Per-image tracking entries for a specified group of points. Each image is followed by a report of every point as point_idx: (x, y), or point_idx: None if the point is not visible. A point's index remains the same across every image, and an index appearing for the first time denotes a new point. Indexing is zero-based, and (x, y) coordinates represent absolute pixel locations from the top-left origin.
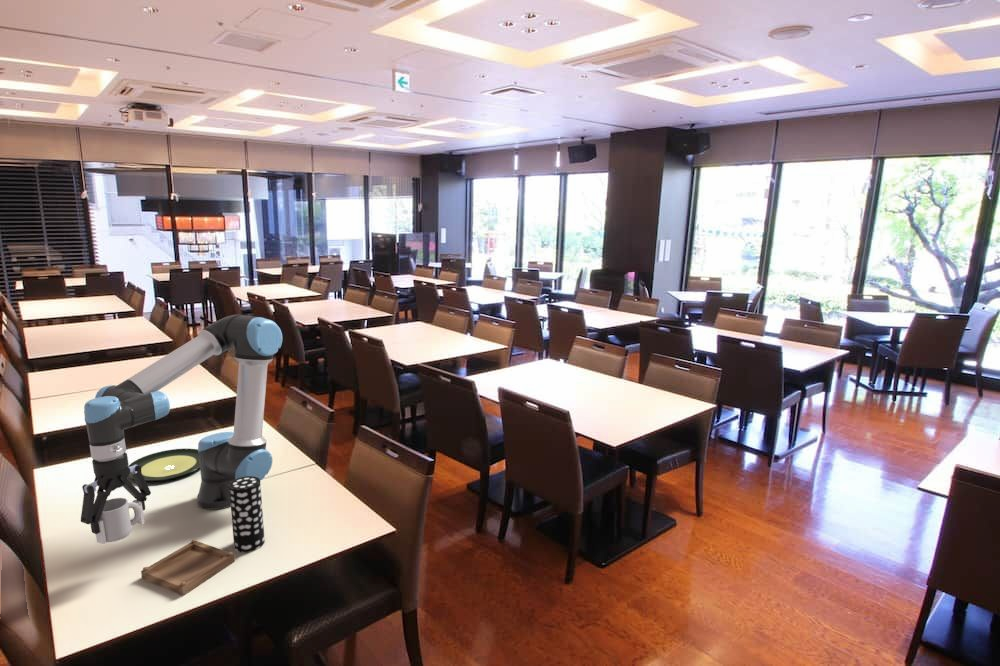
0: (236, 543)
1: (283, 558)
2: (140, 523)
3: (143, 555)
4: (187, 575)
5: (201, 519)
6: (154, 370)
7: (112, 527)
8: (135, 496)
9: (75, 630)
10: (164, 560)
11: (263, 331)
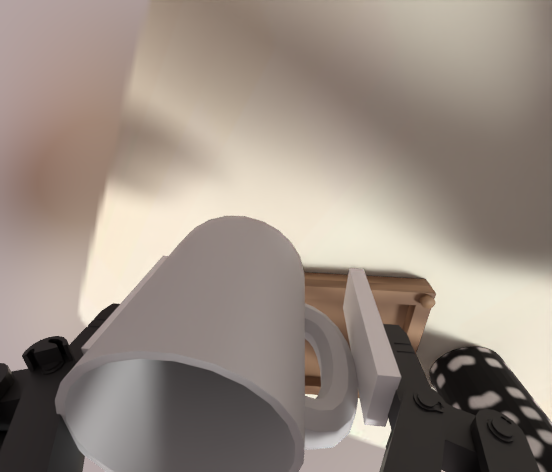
0: (441, 385)
1: None
2: (345, 299)
3: (351, 181)
4: (310, 358)
5: None
6: None
7: (181, 365)
8: (383, 461)
9: (106, 291)
10: (325, 298)
11: None
